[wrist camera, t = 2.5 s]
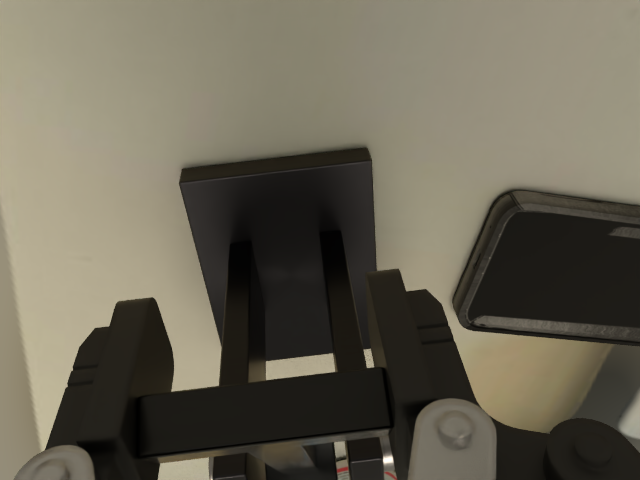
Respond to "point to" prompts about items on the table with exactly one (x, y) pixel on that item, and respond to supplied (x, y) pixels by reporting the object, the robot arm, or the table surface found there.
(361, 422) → the lever
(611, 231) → the phone
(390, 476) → the pill bottle
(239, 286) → the bracket
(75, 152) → the table surface
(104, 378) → the robot arm
